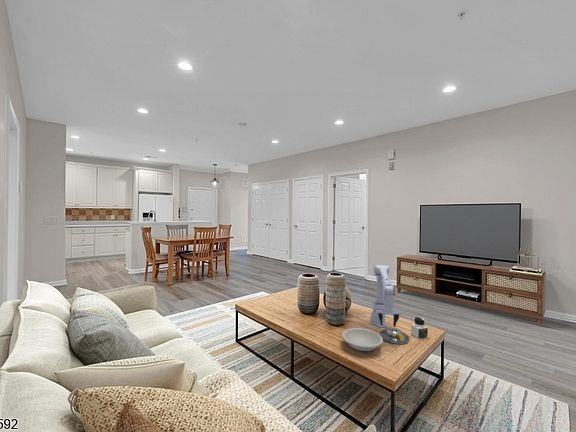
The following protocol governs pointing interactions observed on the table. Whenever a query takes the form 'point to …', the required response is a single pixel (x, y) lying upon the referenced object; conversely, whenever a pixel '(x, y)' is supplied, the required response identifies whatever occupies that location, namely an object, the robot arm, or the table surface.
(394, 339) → the flange plate
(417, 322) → the medicine bottle
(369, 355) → the table surface
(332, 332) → the table surface
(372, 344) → the soup bowl
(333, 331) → the table surface
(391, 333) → the ring nut
